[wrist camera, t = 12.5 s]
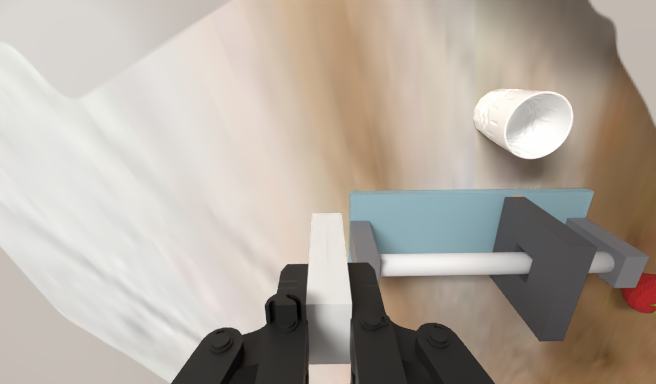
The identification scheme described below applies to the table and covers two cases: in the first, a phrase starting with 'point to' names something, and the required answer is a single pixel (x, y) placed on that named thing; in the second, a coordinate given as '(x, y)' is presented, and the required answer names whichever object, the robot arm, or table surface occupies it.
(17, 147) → the table surface
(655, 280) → the strawberry
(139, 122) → the table surface
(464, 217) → the pipe stand
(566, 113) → the white cup
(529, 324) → the dark grey square plate
